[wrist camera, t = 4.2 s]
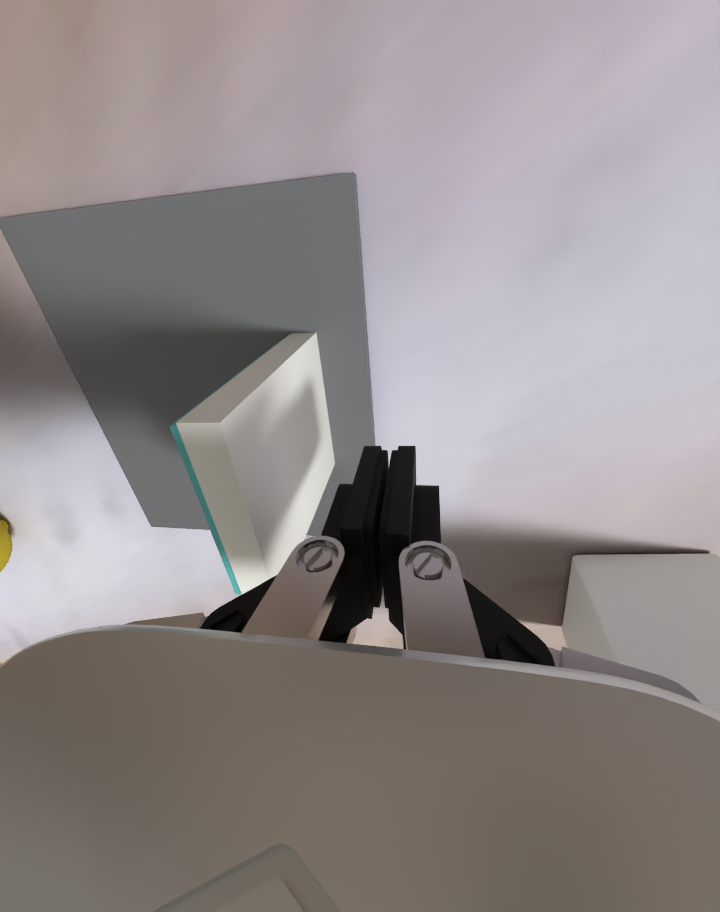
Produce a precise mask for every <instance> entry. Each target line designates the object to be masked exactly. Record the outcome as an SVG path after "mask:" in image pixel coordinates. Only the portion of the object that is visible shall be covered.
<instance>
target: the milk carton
mask: <svg viewBox="0 0 720 912" xmlns="http://www.w3.org/2000/svg"><path fill="white" fill-rule="evenodd" d="M562 632H563V635H564V638H565V642H566V645H567V648H569V649H572V650H576V651H579V652H582V653H586V654H589V655H593V656H596V657H599V658H603V659H606V660H610V661H613V662H617V663H620V664H623V665H627V666H630V667H634V668H637V669H640V670H644V671H647V672H651V673H654V674H657V675H661V676H663V677H666V678H668V679H670V680H673V681H675V682H677V683H679V684H680V685H681V686H683V687H684V688H686V689H687V690H688V691H690V692H691V693H692V694H693V695H694V696H695V697H696V698H697V699H698V700H699V701H700V703H701V704H703V705H705V706H707V707H710V708H712V709H714V710H717V711H719V712H720V557H719V556H718V555H716V554H617V555H574V556H573V558H572V564H571V571H570V578H569V585H568V591H567V598H566V605H565V612H564V618H563V625H562Z"/></svg>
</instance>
